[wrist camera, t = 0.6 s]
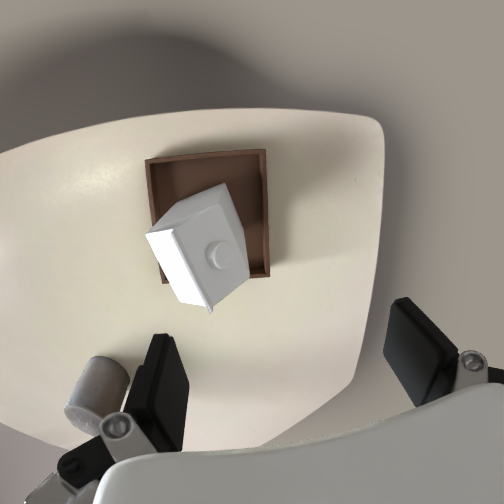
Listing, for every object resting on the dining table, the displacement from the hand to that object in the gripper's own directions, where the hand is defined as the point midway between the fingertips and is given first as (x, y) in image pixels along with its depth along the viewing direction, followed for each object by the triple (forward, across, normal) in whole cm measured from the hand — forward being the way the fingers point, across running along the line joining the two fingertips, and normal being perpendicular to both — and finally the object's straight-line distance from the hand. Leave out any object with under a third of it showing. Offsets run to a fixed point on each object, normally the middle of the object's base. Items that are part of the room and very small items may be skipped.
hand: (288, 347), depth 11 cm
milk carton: (+29, +5, +1) cm, 30 cm away
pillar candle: (+30, +32, +29) cm, 53 cm away
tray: (+30, +5, +1) cm, 30 cm away
